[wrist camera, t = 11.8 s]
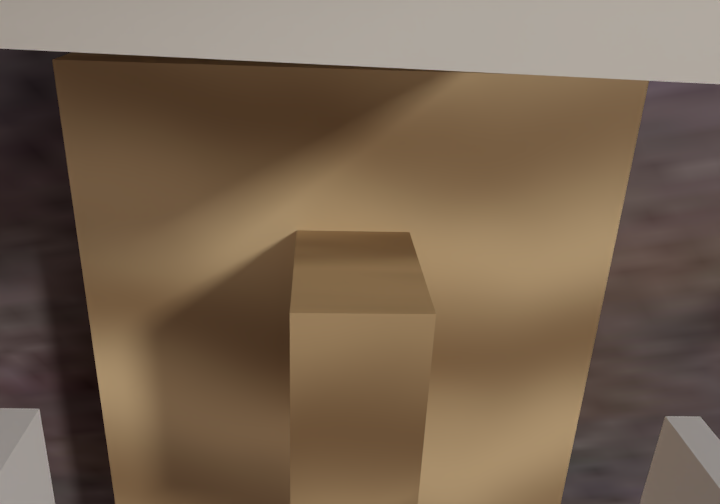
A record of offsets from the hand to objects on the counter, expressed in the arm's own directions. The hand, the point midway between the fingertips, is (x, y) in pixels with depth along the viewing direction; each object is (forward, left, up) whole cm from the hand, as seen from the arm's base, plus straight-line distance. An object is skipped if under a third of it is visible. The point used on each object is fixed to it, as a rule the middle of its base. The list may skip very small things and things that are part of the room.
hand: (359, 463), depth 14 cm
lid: (0, 0, -7) cm, 7 cm away
